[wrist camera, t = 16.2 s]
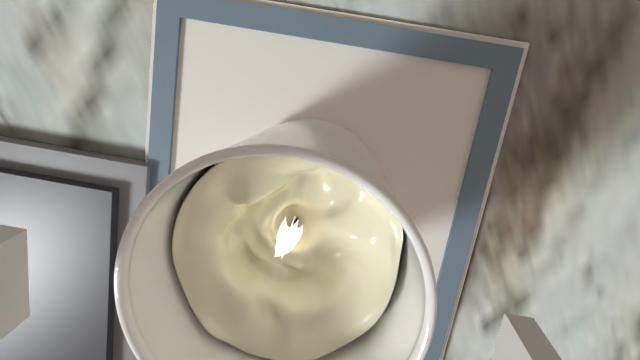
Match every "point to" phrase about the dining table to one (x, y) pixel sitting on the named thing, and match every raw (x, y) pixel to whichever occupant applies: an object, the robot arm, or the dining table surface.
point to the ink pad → (69, 246)
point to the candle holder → (276, 256)
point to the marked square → (343, 105)
